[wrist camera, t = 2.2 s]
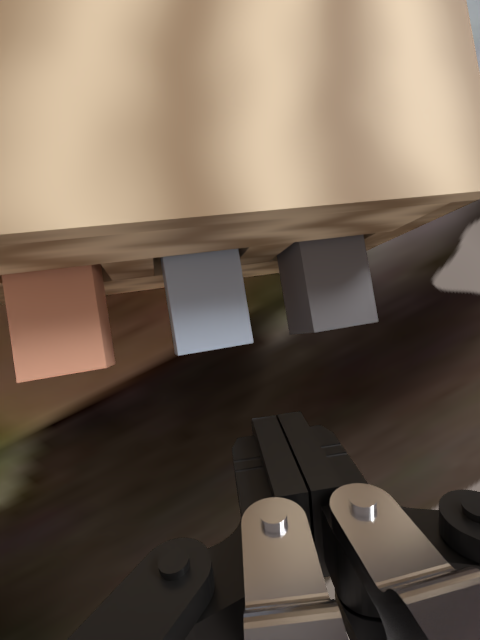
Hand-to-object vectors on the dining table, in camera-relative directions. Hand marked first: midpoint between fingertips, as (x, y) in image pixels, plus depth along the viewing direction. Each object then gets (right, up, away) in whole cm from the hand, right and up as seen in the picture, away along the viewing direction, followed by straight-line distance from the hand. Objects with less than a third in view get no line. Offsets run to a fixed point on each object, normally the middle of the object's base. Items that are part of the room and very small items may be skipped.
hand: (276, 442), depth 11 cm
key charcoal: (+4, +6, +14) cm, 15 cm away
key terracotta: (-11, +4, +10) cm, 16 cm away
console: (-6, +11, +18) cm, 22 cm away
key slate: (-4, +5, +12) cm, 14 cm away
